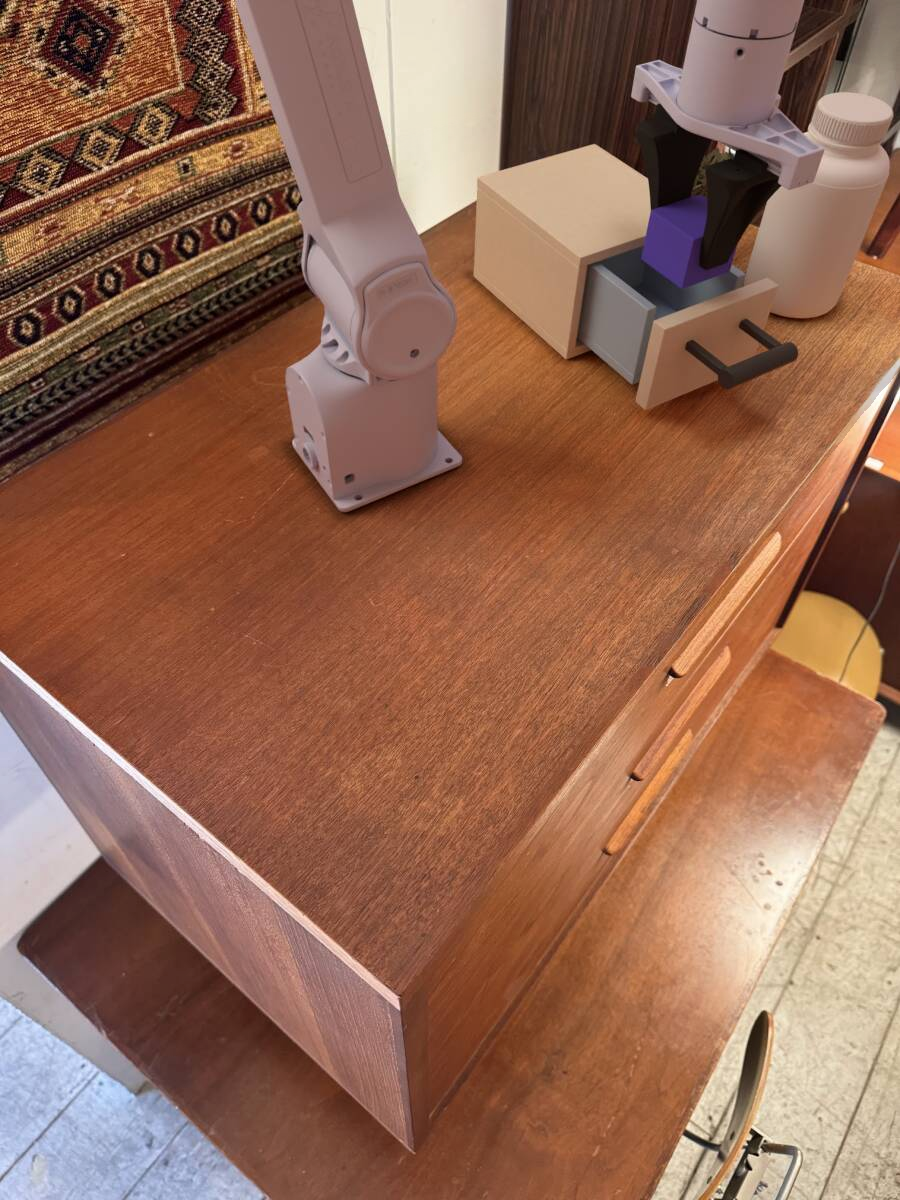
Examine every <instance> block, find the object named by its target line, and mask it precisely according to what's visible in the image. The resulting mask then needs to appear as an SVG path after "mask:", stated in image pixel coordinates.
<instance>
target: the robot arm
mask: <svg viewBox="0 0 900 1200" xmlns="http://www.w3.org/2000/svg"><path fill="white" fill-rule="evenodd" d="M233 1H234V5H235V6H236V10H237V13H238V16H239V19H240V23H241V24H242V25H241V26H242V27H243V31H244V33H245V36H246V39H247V42H248V45H249V48H250V50H251V53H252V57H253V60H254V63H255V65H256V69H257V71H258V74H259V77H260V80H261V83H262V86H263V89H264V92H265V94H266V98H267V101H268V104H269V106H270V109H271V113H272V115H273V117H274V121H275V124H276V126H277V130H278V133H279V135H280V138H281V142H282V144H283V147H284V150H285V153H286V156H287V159H288V162H289V165H290V167H291V170H292V173H293V176H294V179H295V182H296V185H297V188H298V191H299V193H300V196H301V197H300V198H301V199H302V200H301V202H300V203H299V204H298V205H297V208H296V212H297V214H298V218H299V220H300V224H301V227H302V233H303V243H302V244H303V245H302V251H301V252H302V253H301V271H302V276H303V278H304V281H305V283H306V285H307V286H308V288H309V289H310V291H311V292H312V293H313V294H314V296H315V297H316V298H318V300H320V302H321V303H322V305H323V307H324V308H323V309H324V317H323V321H322V326H321V336H320V343H319V344H318V346H317V347H316V348H315V349H314V350H313V351H311V352H310V353H309V354H308V355H307V356H305V357H304V358H301V360H299V361H297V362H295V363H294V364H291V365H290V366H288V367H287V368H286V370H285V390H286V394H287V401H288V407H289V412H290V418H291V419H290V420H291V425H292V429H293V431H292V432H293V435H294V436H293V437H294V438H293V439H292V445H291V446H292V448H293V449H294V450H295V452H296V453H297V455H298V456H299V457H300V459H301V460H302V462H303V463H304V464H305V466H306V467H307V468H308V469H309V471H310V472H311V474H312V476H313V477H314V478H315V480H316V481H317V482H318V484H319V485H320V486H321V487H322V489H323V490H324V492H325V493H326V495H327V496H328V497H329V498H330V500H331V501H332V503H333V504H334V505H335V507H336V509H338V511H339V512H341V513H348V512H350V511H353V510H356V509H359V508H360V507H363V506H365V505H368V504H370V503H372V502H376V501H377V500H381V499H382V498H385V497H387V496H390V495H392V494H394V493H397V492H399V491H402V490H404V489H406V488H409V487H412V486H414V485H416V484H419V483H422V482H424V481H426V480H428V479H431V478H433V477H436V476H439V475H441V474H443V473H445V472H448V471H450V470H453V469H455V468H457V467H460V466H461V465H462V464H463V457H462V455H461V454H460V452H458V450H456V448H455V447H454V446H453V445H452V444H451V443H450V442H449V440H448V439H447V438H446V437H445V436H444V435H443V434H442V433H441V432H440V430H439V410H438V409H439V406H438V405H439V404H438V403H439V360H440V359H441V358H442V356H443V355H444V354H445V353H446V351H447V350H448V348H449V347H450V345H451V344H452V341H453V339H454V337H455V333H456V330H457V324H458V310H457V306H456V303H455V300H454V297H453V296H452V295H451V294H450V292H449V290H447V288H446V287H445V286H444V285H443V284H442V283H441V282H440V281H438V279H437V278H436V277H435V276H434V273H433V271H432V269H431V265H430V260H429V256H428V252H427V250H426V248H425V246H424V243H423V241H422V239H421V236H420V234H419V232H418V230H417V228H416V226H415V225H414V222H413V221H412V219H411V217H410V214H409V213H408V211H407V208H406V206H405V204H404V202H403V200H402V198H401V196H400V191H399V187H398V184H397V183H398V182H397V178H396V174H395V170H394V166H393V163H392V157H391V154H390V150H389V145H388V142H387V137H386V133H385V129H384V125H383V121H382V116H381V112H380V109H379V104H378V100H377V96H376V95H377V94H376V92H375V87H374V83H373V79H372V75H371V71H370V66H369V63H368V58H367V55H366V50H365V47H364V42H363V37H362V34H361V30H360V25H359V21H358V16H357V13H356V9H355V5H354V4H355V3H354V1H353V0H233ZM804 4H805V0H696V4H695V10H694V14H693V17H692V23H691V29H690V33H689V38H688V42H687V47H686V52H685V57H684V62H683V66H682V68H680V67H676V66H674V65H671V64H669V63H667V62H665V61H662V60H661V59H657V60H653V61H648V62H646V63H642V64H637V65H636V66H635V70H634V77H633V83H632V89H631V95H630V97H631V99H633V100H635V101H636V102H639V103H646V102H650V103H652V104H653V105H655V106H656V107H655V112H654V113H652V115H651V118H649V119H646V120H643V121H640V122H639V123H637V125H636V129H635V134H634V135H635V138H636V141H637V143H638V145H639V148H640V152H641V155H642V159H643V162H644V166H645V171H646V175H647V178H648V183H649V192H650V206H651V210H653V209H656V208H659V207H662V206H665V205H668V204H672V203H675V202H678V201H681V200H684V199H687V198H690V197H691V193H692V190H693V186H694V182H695V179H696V176H697V173H698V171H699V168H700V165H701V163H702V160H703V158H704V156H705V154H706V153H707V151H708V149H709V147H710V145H711V142H712V141H715V142H719V143H721V144H722V145H724V146H726V147H727V148H729V149H731V150H732V151H734V156H733V159H732V158H730V159H727V160H724V161H721V162H718V163H715V164H711V165H708V166H707V167H706V171H705V175H706V181H707V194H708V203H707V217H706V224H705V229H704V234H703V238H702V243H701V248H700V259H699V266H700V267H701V268H703V269H704V270H709V269H712V268H715V267H717V266H720V265H723V264H726V263H727V262H728V260H729V258H730V257H731V255H732V253H733V251H734V249H735V247H736V246H737V247H738V245H737V244H739V242H740V240H741V239H742V237H743V236H744V234H745V233H746V231H747V229H748V228H749V226H750V225H751V223H752V222H753V220H754V219H755V217H756V216H757V215H758V213H759V212H760V211H761V209H763V207H764V206H765V205H766V204H767V201H768V200H769V199H770V198H771V196H772V195H773V194H774V193H775V192H776V191H777V190H778V189H779V188H780V187H781V186H783V187H785V188H786V189H788V190H791V189H794V188H797V187H801V186H804V185H806V184H809V183H812V182H814V179H815V177H816V174H817V171H818V168H819V165H820V162H821V159H822V156H823V153H824V150H825V149H824V148H823V147H821V146H819V145H817V144H816V143H814V142H813V141H811V140H810V139H809V138H808V137H806V136H805V135H804V134H803V133H804V132H802V131H801V129H799V127H797V125H796V124H794V122H792V120H790V119H789V118H788V117H787V116H786V114H785V113H783V112H782V111H781V110H780V109H779V106H780V103H781V99H782V96H781V94H779V90H780V86H781V83H782V80H783V76H784V73H785V69H786V67H787V62H788V59H789V55H790V52H791V48H792V46H793V42H794V38H795V35H796V31H797V28H798V24H799V20H800V17H801V13H802V11H803V6H804Z"/></svg>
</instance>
